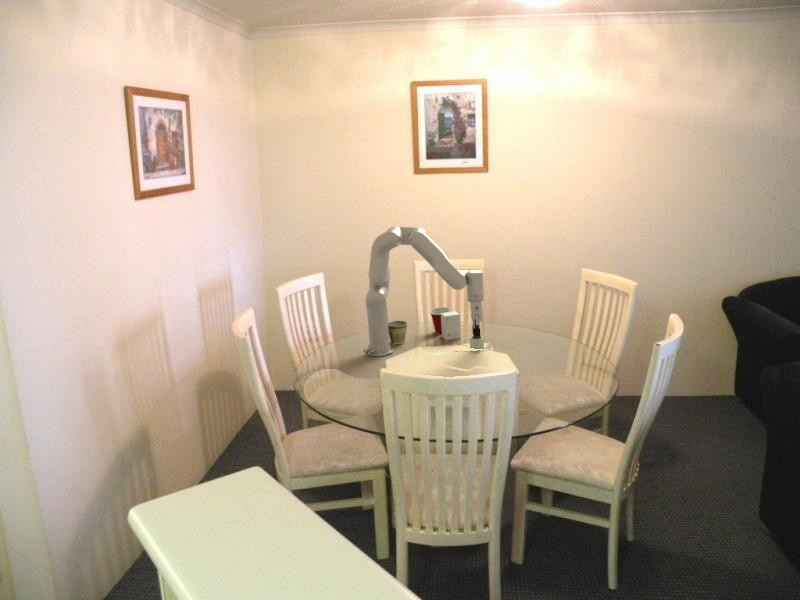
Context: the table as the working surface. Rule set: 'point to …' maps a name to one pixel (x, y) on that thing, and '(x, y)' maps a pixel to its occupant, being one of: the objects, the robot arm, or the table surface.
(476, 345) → the jar
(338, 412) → the table surface
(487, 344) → the trivet
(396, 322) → the ceramic cup
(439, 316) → the plastic cup
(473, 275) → the robot arm
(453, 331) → the small box
